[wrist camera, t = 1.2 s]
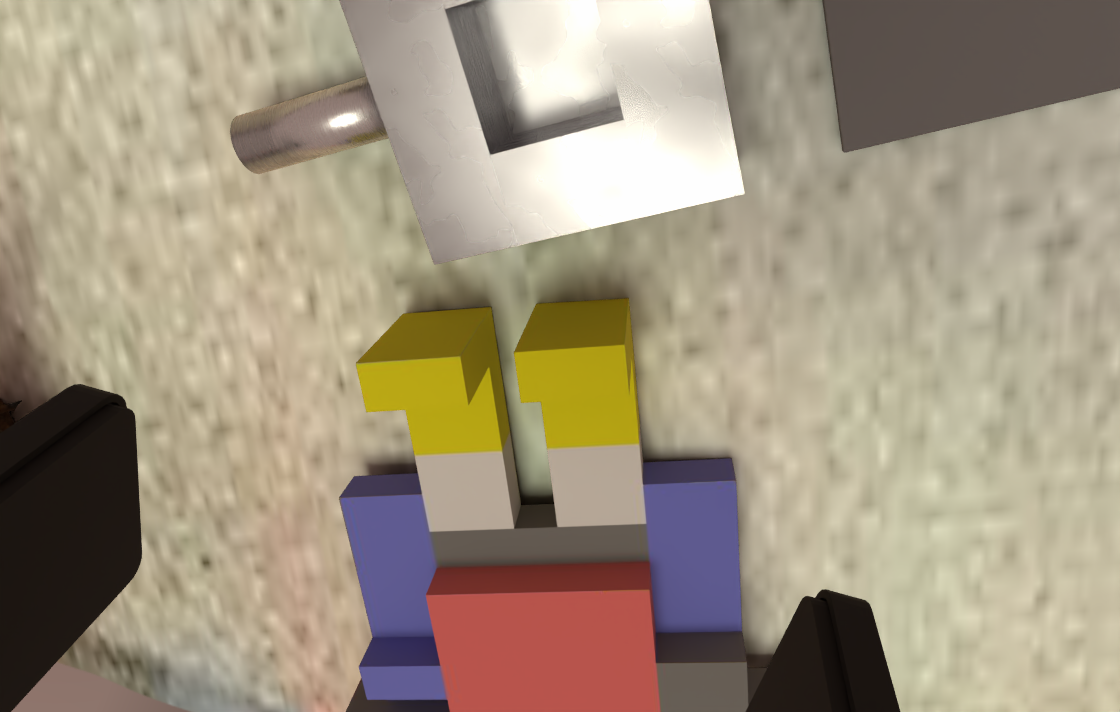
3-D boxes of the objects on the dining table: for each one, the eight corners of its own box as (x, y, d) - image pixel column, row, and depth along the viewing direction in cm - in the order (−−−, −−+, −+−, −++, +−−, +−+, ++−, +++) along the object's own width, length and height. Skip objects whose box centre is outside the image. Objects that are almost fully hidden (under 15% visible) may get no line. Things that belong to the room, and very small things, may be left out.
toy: (860, 328, 28) (847, 898, 39) (814, 268, 36) (813, 754, 47) (206, 373, 32) (355, 883, 42) (295, 310, 40) (401, 752, 50)
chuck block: (676, -175, 27) (671, -203, 23) (738, 162, 32) (744, 194, 27) (219, -12, 32) (142, -9, 28) (331, 259, 37) (281, 299, 32)
